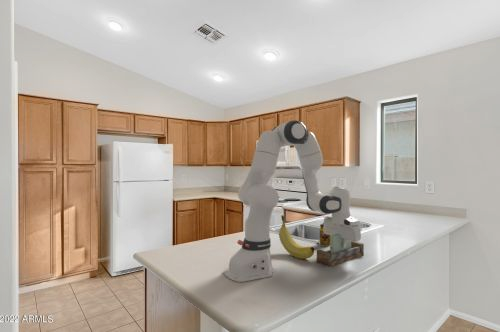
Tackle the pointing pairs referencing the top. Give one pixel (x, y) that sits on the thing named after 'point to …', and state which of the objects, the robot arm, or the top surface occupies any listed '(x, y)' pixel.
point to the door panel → (338, 244)
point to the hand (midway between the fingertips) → (340, 246)
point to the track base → (340, 254)
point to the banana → (293, 244)
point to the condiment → (324, 237)
